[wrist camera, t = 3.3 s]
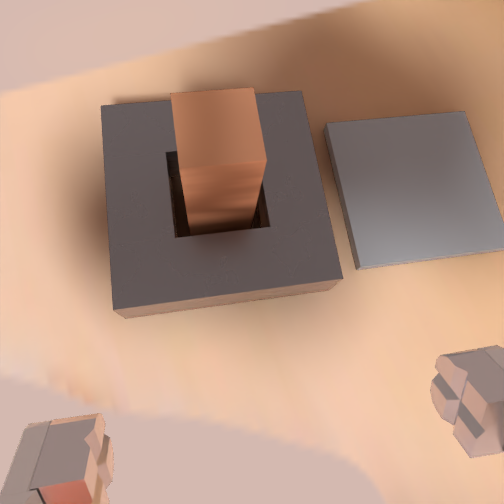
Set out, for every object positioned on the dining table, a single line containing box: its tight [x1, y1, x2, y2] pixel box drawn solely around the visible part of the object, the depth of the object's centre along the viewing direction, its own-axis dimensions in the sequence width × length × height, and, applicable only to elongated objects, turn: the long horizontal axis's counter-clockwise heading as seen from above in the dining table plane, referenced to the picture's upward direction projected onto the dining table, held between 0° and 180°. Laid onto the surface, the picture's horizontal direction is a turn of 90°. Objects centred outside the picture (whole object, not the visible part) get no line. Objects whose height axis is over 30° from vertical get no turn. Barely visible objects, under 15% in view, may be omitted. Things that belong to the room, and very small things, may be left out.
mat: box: [324, 111, 504, 270], centre depth 27 cm, size 10×10×1 cm
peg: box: [170, 87, 267, 236], centre depth 22 cm, size 4×4×9 cm
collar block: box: [101, 91, 343, 319], centre depth 24 cm, size 12×12×3 cm
